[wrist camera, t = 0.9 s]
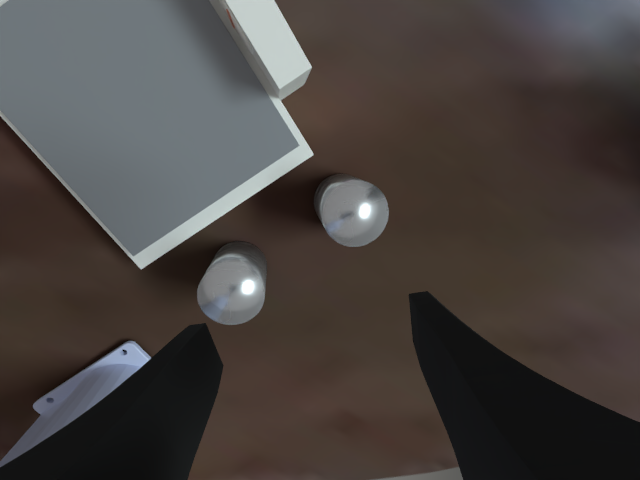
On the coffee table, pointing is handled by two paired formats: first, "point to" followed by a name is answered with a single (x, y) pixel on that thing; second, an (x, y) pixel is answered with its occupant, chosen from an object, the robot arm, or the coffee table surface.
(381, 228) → the cylinder
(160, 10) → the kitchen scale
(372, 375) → the coffee table surface
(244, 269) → the cylinder
